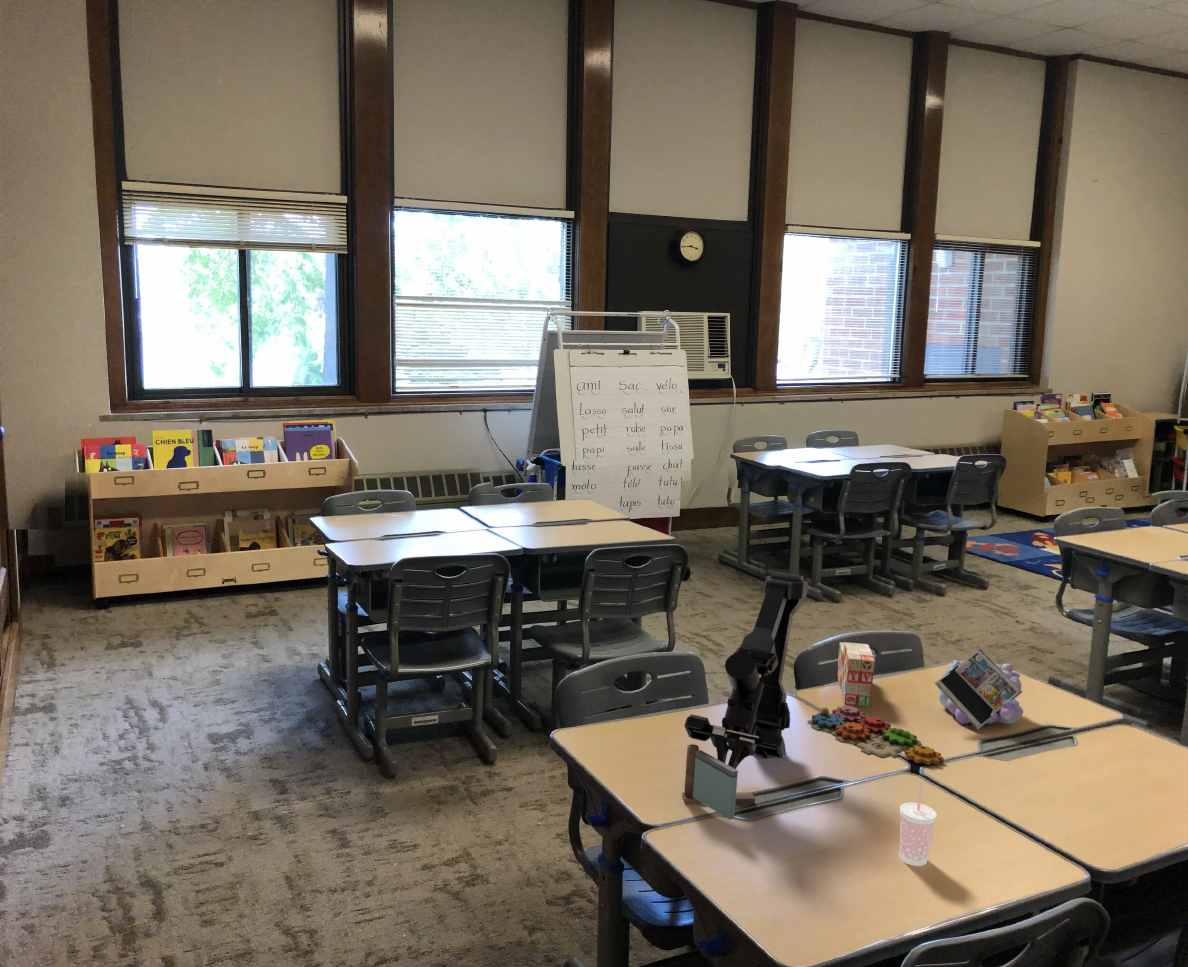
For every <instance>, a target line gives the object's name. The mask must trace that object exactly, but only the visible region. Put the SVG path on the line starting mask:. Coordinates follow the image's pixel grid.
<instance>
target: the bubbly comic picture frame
mask: <svg viewBox="0 0 1188 967" xmlns="http://www.w3.org/2000/svg"><path fill="white" fill-rule="evenodd" d="M1013 670H1014V665H1013V663H1003V665H998V664H996V662H995V661H993V660H992V658H991V657H990V656H988V655H987V653H985V651H983V649H982V648H981V647H978V648H977V649H975V650H974V651H973V652H971V653H970V654H969V655H968V656H967V657H966V658H965V659H963V660H962V661H961V662H960V661H959V660H957V659H953V661H952V662H950V663H949V665H948V669H946V671H944V673H943V674H942V677H940V678H939V679H938V680H935V682H934V684H935V686H936V687H937V688H938V689H939V692H938V701H939V702H940V704H941V705H942V706H943V707H944V708H946V709H947V710H948V711H949V712H950V713H951V714H952V715H954V716H955V720H956V721H957V722H958V723H959V724H964V725H965V724H969V723H971V724H972V725H973V726H974V728H975V729H976V730H979V729H980V728H982V726H984V725H985V724H988V725H991V724H993V723H1002V724H1006V725H1012V724H1015V723H1017V721H1018V720H1019V719H1020V718H1021V717H1022V715H1024V710H1023V708H1022V707H1021V706H1020V702H1019V701H1018V700H1017V699H1016V698H1018V697H1019V696H1020V695H1021V694H1022V693H1023V690H1022V681H1021V680H1020V678H1021V675H1020V673H1017V672H1015V671H1013Z"/></svg>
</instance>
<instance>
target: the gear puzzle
mask: <svg viewBox="0 0 1188 967" xmlns="http://www.w3.org/2000/svg"><path fill="white" fill-rule="evenodd" d="M819 711H820V712H818V713H817V714H813V715H811V719H809V720H807V724H809V725H810V728H811V729H812V730H815V731H818V732H819V731H822V732H826V733H827V734H831V736H833V737H834V739H835V741H837V742H839V743H842V744H843V743H845V742H846V743H848V744H850V745H852V746H856V747H857V748H858V749H861V750H860V752H861V753H863V754H865V755H868V756H870V755H874V756H875V757H878V758H880V759H883V758H886V757H891V758H893V759H894V758H897V757H900V753H901V752H902V751H903V752H904V755H906V760H912V761H914V763H916V764H920V763H923V764H924V765H927V766H930V765H931V764H933V765H940V762H944V757H943V756H942V753H941V752H938V751H936V750H935V749H934V748H931V747H930V746H925V745H922V741H920V740H918V736H917V735H916V734H912V733H911V732H910V731H909V730H904V729H903V728H897V727H892V728H891V723H889V722H885V720H884V719H882V718H881V717H876V716H866V713H865V712H864V711H861V710H860V709H859V708H857V707H855V706H854V705H842V706H838V707H837V708H836V709H835V708H834V709H832V711H831V713H830V710H829V708H828V707H825V706H822V707H821V708H820V710H819Z"/></svg>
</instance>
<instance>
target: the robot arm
mask: <svg viewBox="0 0 1188 967" xmlns="http://www.w3.org/2000/svg"><path fill="white" fill-rule="evenodd" d="M764 583H765V584H764V589H763V590H764V591H763V593H764V594H765V595H764V597H763V600H762V604H761V606H760V609H759V612H758V615H757V618H756V621H755V624H754V627H753V629H752V631H751V632H749V633H748V634H746V635H745V636H744V637H743V639H742V641H741V644H740V646H738V647H737V649H736V650H735V651H734V652H733V653H732V654H731V655H730V656H728V657H727V659H726V660H725V663H724V668H725V673H726V674H727V675H726V676H727V679H728V681H729V685H730V686H731V687H732V689H731V693H730V696H729V697H728V699H727V702H726V704H727V707H726V710H725V714H724V717H722V719H721V724H722V725H721V726H720V725H719V726H718V725H716V724H715V725H712V724H711V722H710V720H709V718H708V717H704V716H700V715H696V714H692V713H691V714H689V716H688V717H686V719H685V723H684V725H683V727H684V729H685V730H686V733H687V735H688V737H689V738H690V739H693V740H697V741H702V742H706V741H708V740H711V743H712V745H713V747H714V748H716V756H717V759H718V760H720V761H721V762H723V763H725V764H727V763H728V764H727V765H729V766H731V767H732V768H734V769H736V770H737V768H738V766H739V765H740V764H741V763H742V761H743V760H744V759H745V758H747V757H749V756H750V757H754V756H755V755H756V754H757V755H759V756H761V757H763V758H764V759H767V758H770V757H771V758H775V759H780V760H781V759H784V756H785V752H786V744H785V740H784V739H785V738H784V737H783V735H782V732H783V731H785V729H790V727H791V712H790V708H789V704H788V702H787V693H786V690H785V688H784V684H783V683H782V681H783V676H784V669H785V663H786V659H787V658H786V657H787V651H788V645H789V639H790V635H791V629H792V622H793V616H794V615H795V614H796V613H797V612H798V611H799V610H800V609H801V608H802V607H803V603H804V599H805V598H806V597H807V596H808V595H807V594H808V589H809V582H808V581H805V580H804V576H803V575H798V574H793V573H792V574H791V573H785V572H778V571H775V572H774V573H773V575H768V576H765V582H764ZM729 750H730V751H731V754H730V757H729V759H728V762H727V763H726V761H727V757H728V752H729Z"/></svg>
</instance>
